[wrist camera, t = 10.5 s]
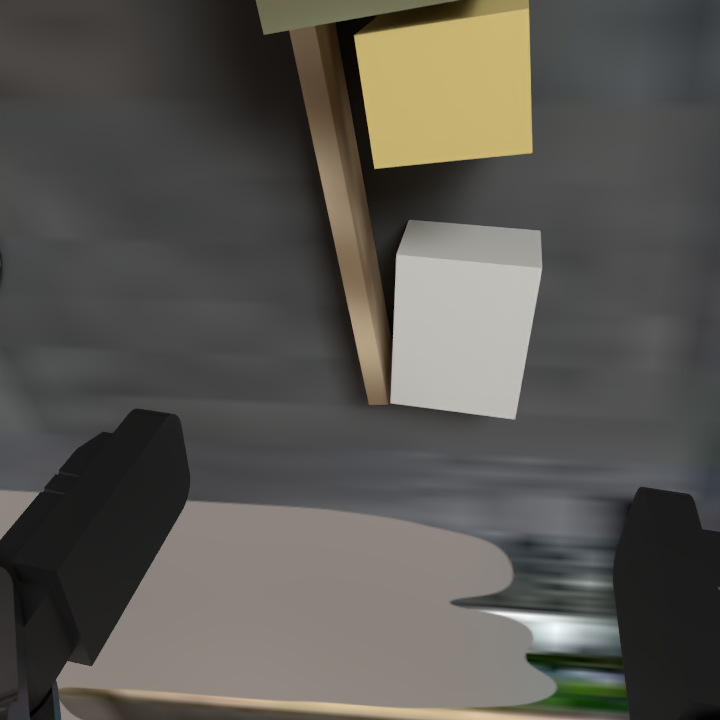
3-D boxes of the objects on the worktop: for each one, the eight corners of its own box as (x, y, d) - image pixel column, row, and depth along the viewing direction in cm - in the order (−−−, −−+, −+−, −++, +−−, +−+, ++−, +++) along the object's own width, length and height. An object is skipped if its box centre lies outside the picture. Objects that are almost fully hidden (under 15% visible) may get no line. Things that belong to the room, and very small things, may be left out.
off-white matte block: (409, 217, 31) (396, 254, 28) (540, 228, 30) (542, 268, 27) (402, 357, 36) (390, 403, 33) (515, 371, 35) (514, 419, 32)
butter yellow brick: (395, 1, 26) (353, 35, 20) (527, -21, 25) (528, 8, 18) (408, 106, 28) (374, 168, 22) (529, 91, 27) (532, 153, 20)
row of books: (221, -435, 20) (22, -653, 12) (487, -537, 18) (459, -882, 10) (379, 371, 36) (338, 506, 28) (530, 366, 34) (533, 510, 26)
